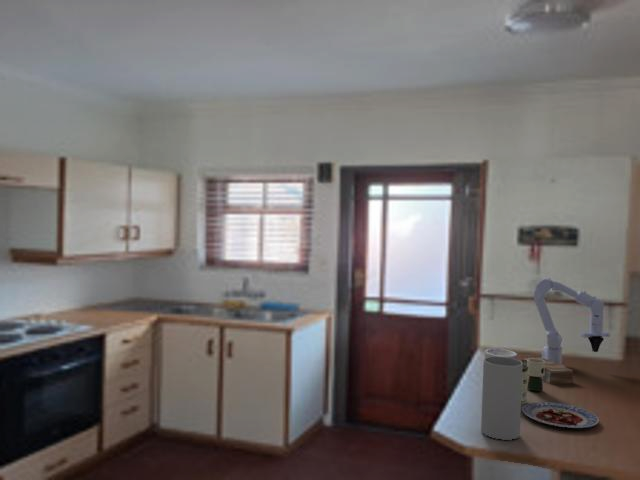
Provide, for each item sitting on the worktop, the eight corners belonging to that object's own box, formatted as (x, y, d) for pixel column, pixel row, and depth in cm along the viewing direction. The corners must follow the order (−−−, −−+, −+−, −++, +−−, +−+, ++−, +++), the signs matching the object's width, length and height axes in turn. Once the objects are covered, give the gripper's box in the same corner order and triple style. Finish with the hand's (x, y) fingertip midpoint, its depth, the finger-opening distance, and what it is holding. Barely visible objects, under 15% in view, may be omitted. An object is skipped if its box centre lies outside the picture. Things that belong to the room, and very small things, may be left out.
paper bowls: (512, 374, 266) (513, 357, 265) (480, 368, 274) (480, 352, 273) (519, 367, 279) (520, 351, 278) (488, 362, 287) (489, 346, 286)
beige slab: (521, 370, 272) (522, 358, 272) (541, 369, 275) (542, 357, 275) (551, 384, 251) (551, 371, 250) (572, 382, 253) (573, 370, 253)
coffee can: (501, 394, 234) (502, 361, 233) (527, 398, 230) (529, 364, 229) (498, 402, 225) (499, 367, 224) (525, 406, 220) (526, 370, 220)
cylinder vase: (483, 424, 199) (485, 354, 198) (520, 430, 194) (523, 359, 193) (478, 437, 188) (481, 363, 187) (518, 444, 183) (521, 368, 182)
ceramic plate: (594, 439, 189) (594, 430, 189) (515, 422, 203) (515, 414, 203) (602, 416, 211) (602, 408, 211) (530, 403, 225) (530, 395, 225)
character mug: (543, 395, 235) (544, 364, 234) (525, 392, 237) (526, 362, 237) (544, 388, 245) (545, 358, 244) (526, 385, 247) (528, 356, 247)
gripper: (589, 325, 268) (588, 354, 269) (615, 325, 272) (613, 353, 273) (579, 323, 275) (578, 350, 276) (604, 322, 279) (603, 349, 279)
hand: (595, 351), depth 275 cm, fingers closed
